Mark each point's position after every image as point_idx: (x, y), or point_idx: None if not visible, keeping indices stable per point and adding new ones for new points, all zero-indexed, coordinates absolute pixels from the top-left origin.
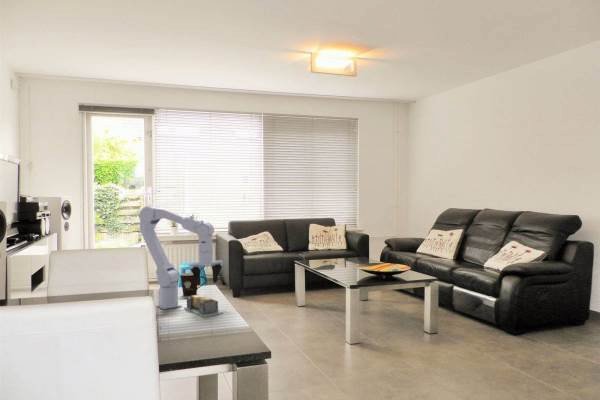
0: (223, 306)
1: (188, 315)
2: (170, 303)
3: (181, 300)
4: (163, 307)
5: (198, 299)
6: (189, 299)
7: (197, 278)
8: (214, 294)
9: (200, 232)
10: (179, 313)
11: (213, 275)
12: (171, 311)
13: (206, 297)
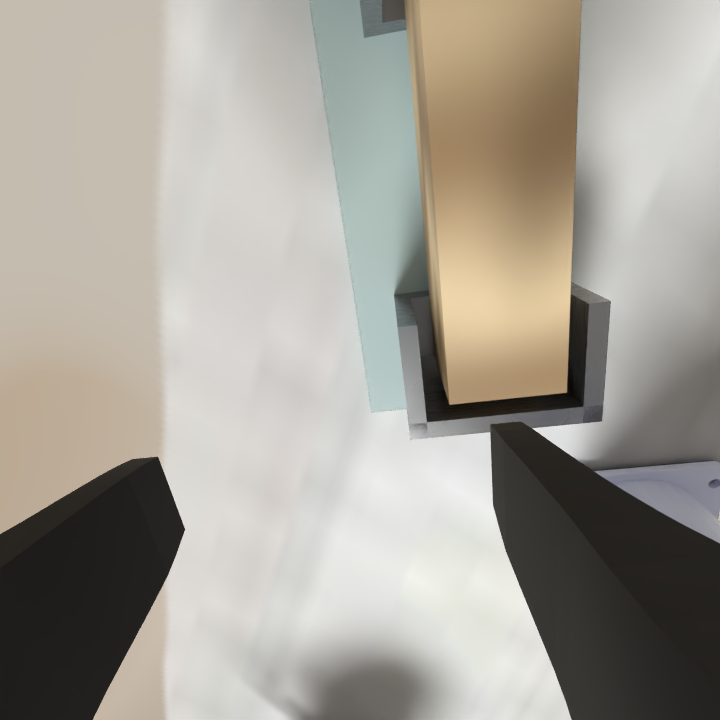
0: (203, 271)
1: (671, 44)
2: (673, 501)
3: (454, 658)
4: (712, 492)
5: (570, 114)
6: (600, 328)
7: (635, 502)
8: (190, 694)
9: None
10: (693, 218)
11: (97, 657)
12: (703, 354)
13: (436, 115)
